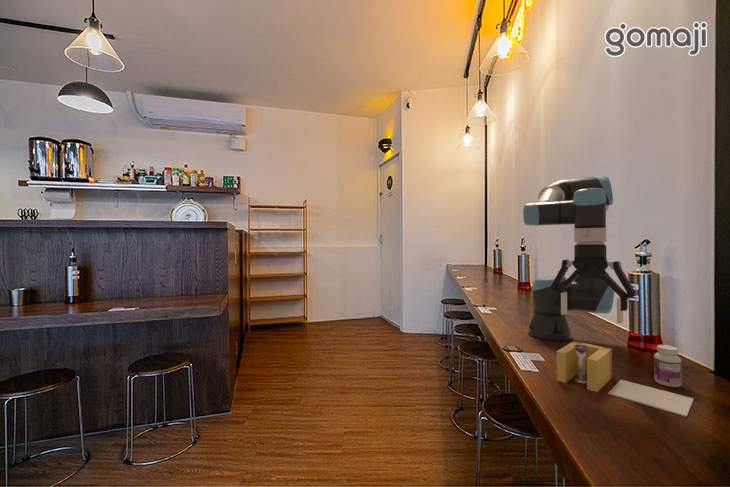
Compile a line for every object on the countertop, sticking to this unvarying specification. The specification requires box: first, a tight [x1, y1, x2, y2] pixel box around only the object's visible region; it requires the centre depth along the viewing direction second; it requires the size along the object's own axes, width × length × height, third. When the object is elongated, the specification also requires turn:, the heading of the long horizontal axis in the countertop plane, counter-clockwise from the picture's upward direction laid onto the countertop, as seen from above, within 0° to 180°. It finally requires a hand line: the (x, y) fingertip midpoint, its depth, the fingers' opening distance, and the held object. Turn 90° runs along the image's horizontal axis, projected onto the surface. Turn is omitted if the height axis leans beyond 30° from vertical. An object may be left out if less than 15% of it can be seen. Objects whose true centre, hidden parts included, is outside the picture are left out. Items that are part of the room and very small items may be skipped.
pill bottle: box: [653, 344, 682, 388], centre depth 87 cm, size 5×5×10 cm
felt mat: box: [607, 379, 694, 418], centre depth 80 cm, size 11×14×1 cm
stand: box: [573, 345, 588, 385], centre depth 89 cm, size 3×3×10 cm
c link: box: [555, 340, 613, 393], centre depth 90 cm, size 13×9×8 cm
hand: (590, 318), depth 94 cm, fingers open, 13 cm apart
